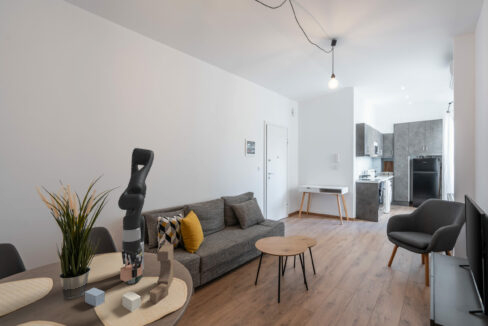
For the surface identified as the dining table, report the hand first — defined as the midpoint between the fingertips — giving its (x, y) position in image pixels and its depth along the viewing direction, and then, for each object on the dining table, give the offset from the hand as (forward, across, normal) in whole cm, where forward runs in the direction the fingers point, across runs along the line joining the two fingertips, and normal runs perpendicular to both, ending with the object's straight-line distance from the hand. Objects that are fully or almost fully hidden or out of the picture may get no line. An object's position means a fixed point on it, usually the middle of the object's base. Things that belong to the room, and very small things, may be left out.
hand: (131, 275), depth 104 cm
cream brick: (+14, 0, 0) cm, 14 cm away
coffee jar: (+14, +21, -13) cm, 29 cm away
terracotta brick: (+1, 0, 0) cm, 1 cm away
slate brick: (+14, +17, +8) cm, 24 cm away
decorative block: (+14, +2, -20) cm, 25 cm away
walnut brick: (+14, -5, -11) cm, 19 cm away
